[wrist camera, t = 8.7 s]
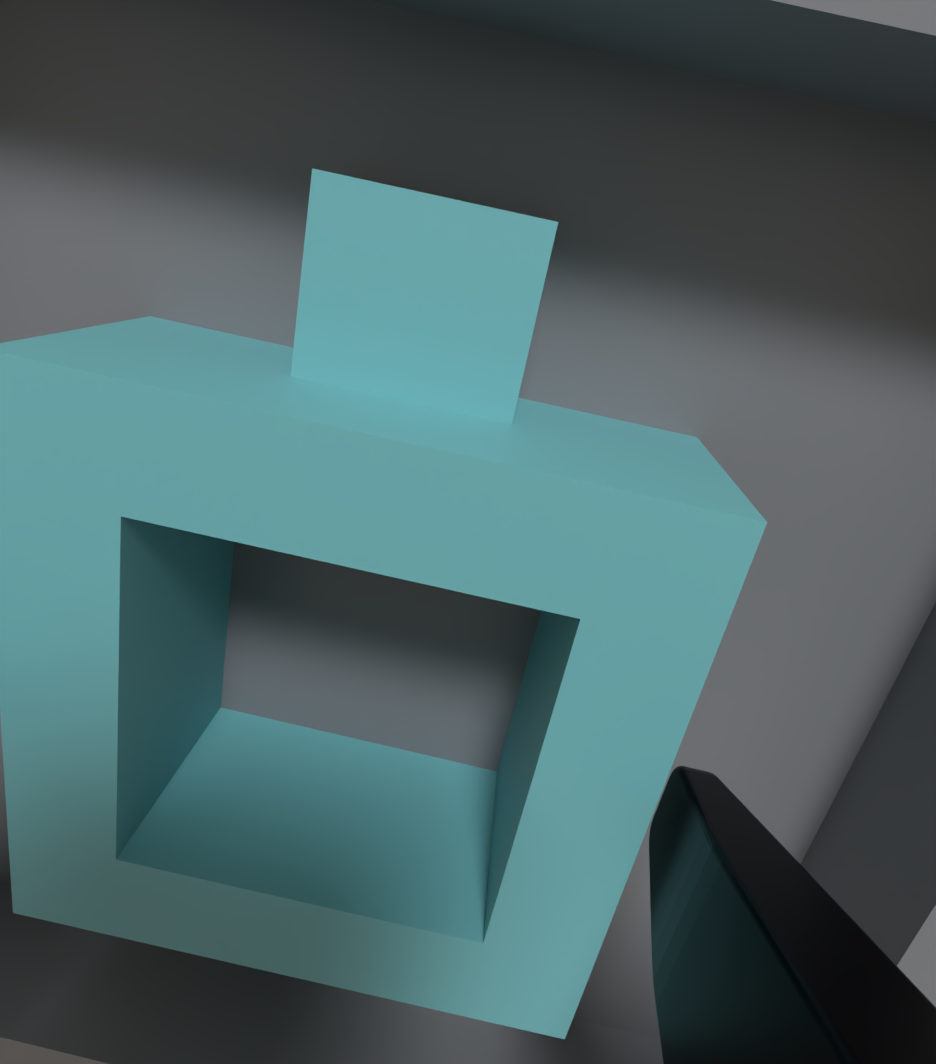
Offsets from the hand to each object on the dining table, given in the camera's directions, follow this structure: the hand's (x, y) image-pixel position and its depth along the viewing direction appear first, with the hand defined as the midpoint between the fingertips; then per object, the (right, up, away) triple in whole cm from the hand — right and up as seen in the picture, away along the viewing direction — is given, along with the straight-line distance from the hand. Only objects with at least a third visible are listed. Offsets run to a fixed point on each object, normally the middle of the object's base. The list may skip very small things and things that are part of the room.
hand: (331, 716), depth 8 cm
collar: (0, +1, +2) cm, 2 cm away
